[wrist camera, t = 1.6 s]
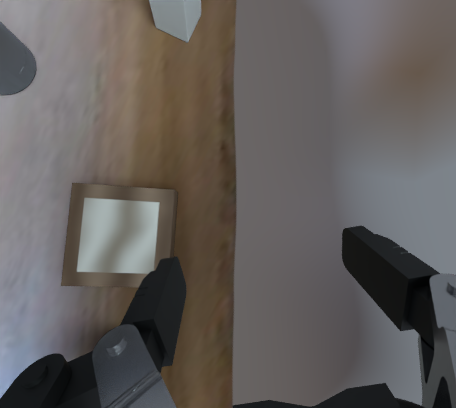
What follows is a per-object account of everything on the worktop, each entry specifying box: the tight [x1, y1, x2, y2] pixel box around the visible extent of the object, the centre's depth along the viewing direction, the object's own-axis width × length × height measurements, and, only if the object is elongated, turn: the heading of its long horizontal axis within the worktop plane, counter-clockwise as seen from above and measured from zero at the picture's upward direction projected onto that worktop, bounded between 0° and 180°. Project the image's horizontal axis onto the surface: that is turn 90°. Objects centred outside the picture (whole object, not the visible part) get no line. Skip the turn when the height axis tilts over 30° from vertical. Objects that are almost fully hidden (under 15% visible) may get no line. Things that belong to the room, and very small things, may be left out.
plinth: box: [61, 183, 178, 287], centre depth 32 cm, size 14×14×4 cm
